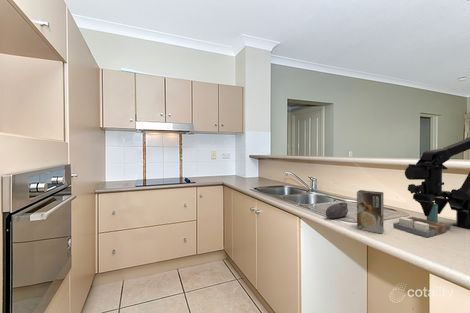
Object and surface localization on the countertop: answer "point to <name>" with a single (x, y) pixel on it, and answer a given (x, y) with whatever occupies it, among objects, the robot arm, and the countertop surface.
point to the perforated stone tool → (337, 210)
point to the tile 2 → (421, 226)
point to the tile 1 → (406, 222)
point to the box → (414, 230)
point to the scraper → (435, 216)
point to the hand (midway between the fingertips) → (432, 215)
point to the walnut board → (432, 225)
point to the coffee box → (370, 211)
